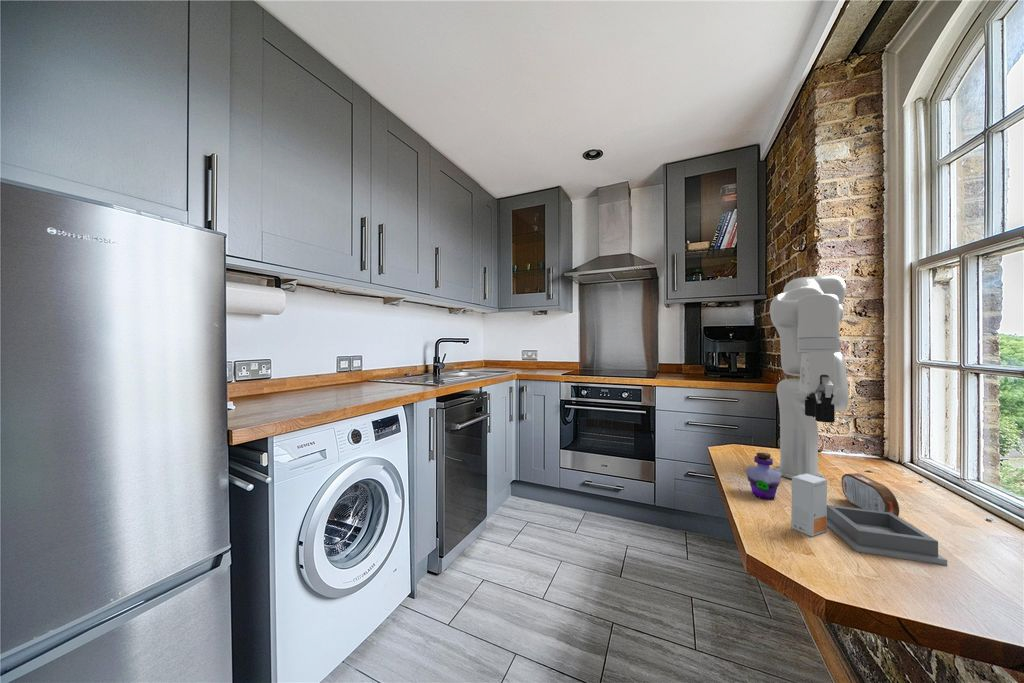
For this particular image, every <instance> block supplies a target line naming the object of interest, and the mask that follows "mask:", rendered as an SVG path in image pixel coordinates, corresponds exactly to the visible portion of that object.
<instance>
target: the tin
mask: <svg viewBox="0 0 1024 683" xmlns="http://www.w3.org/2000/svg"><path fill="white" fill-rule="evenodd" d="M841 488H842V490H841V491H842V493H843V496H844V497H845V498H846V500H847V501H848V502H849V503H850V504H851V505H852V506H854V507H855V508H858V509H866V510H874V511H883V512H891V513H893V514H895V515H896V516H898V517H899V515H900V505H899V502H898V499H897V498H896V496H895V494H894V492H892V490H891V489H889V488H888V486H886V485H884V484H883V483H880V482H878V481H876V480H873V479H872V478H869V477H867V476H865V475H863V474H861V473H858V472H856V473H845V474H843V475H842V476H841Z"/></svg>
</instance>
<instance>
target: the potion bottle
mask: <svg viewBox="0 0 1024 683" xmlns="http://www.w3.org/2000/svg"><path fill="white" fill-rule="evenodd" d="M753 458H754V459H753V460H754V463H756V466H747V467H746V468H745V472H746V476H747V481H748V483H749V484H750V489H751V492H752V493H753V494H754V495H755V496H756V499H761V500H764V501H772V500H771V499H774V498H775V499H776V492H777V489H778V487H779V486H780V481H781V477H782V476H781V475H782V473H780V472H777V471H775V470H774V468H770V466H773V464H774V462H773V461H774V460H773V458H771V454H770V453H766V452H756V455H755V456H754V457H753ZM752 493H751V494H752ZM755 496H754V497H755ZM758 497H760V498H758ZM766 499H767V500H766ZM768 499H770V500H768Z"/></svg>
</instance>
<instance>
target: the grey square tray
mask: <svg viewBox="0 0 1024 683" xmlns="http://www.w3.org/2000/svg"><path fill="white" fill-rule="evenodd" d="M827 527H828V528H829V527H830V528H831V529H832V530H833V533H834V534H836V535H837V536H838V537H839V538H840V539H842V540H843V541H844V542H845V543H846V544H847V545H848V546H849V547H851V548H852V549H853V550H854V551H855V552H858V553H863V554H864V553H865V554H872V555H878V556H883V557H890V558H896V557H897V558H898V559H903V558H904V560H909V561H916V562H924V563H930V564H937V565H941V566H942V565H943V566H948V559H946V558H945V557H943V556H942V555H940V554H939V541H938V540H937V539H935V538H934V537H932V536H930V535H928V534H927V533H925V532H924V531H922V530H921V529H919V528H918V527H916V526H914V525H912V524H911V523H910V522H908V521H906V520H904V519H902V518H901V517H899V516H896V515H895V514H893V513H891V512H883V511H874V510H866V509H859V508H858V507H848V506H839V505H832V504H827ZM830 528H829V529H830ZM831 529H830V530H831ZM832 530H831V531H832Z"/></svg>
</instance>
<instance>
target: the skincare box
mask: <svg viewBox="0 0 1024 683" xmlns="http://www.w3.org/2000/svg"><path fill="white" fill-rule="evenodd" d="M827 487H828V480H827V479H826V478H824V479H823V478H820V477H817V476H813V475H810V474H803V475H798V476H794V477H792V479H791V510H790V511H791V514H790V515H791V517H790V518H791V520H790V521H791V526H790V527H791V529H792V530H795V531H798V532H799V533H802V534H805V535H807V536H809V537H815V536H817V535H820V534H822V533H825V532H826V533H827V527H828V526H827V505H828V503H827V502H828V488H827Z"/></svg>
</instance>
